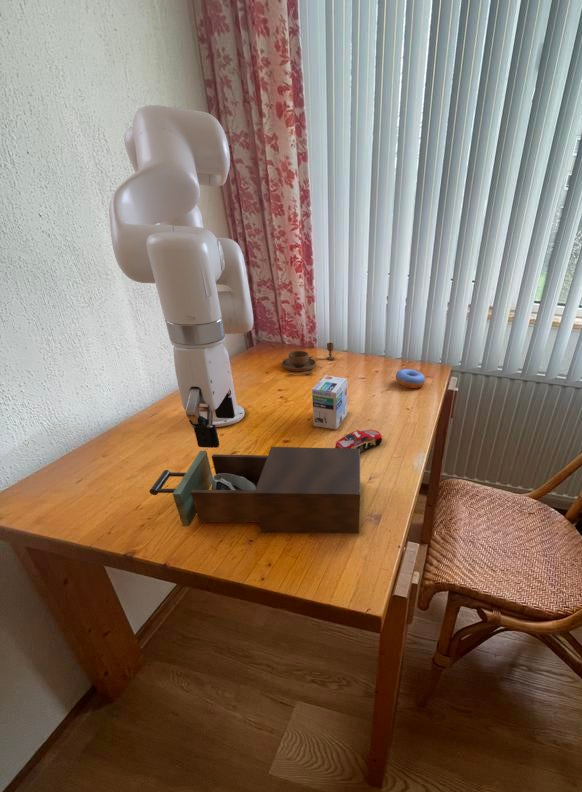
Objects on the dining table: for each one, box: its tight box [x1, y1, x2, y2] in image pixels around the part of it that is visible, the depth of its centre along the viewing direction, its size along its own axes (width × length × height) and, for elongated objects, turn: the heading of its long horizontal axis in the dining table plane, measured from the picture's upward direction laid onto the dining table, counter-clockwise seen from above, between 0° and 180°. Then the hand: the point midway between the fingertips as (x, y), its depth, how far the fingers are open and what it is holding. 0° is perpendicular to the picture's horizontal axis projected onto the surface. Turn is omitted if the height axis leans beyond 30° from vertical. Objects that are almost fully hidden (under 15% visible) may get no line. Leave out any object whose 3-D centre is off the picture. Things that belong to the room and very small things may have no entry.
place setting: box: [281, 342, 335, 376], centre depth 138 cm, size 18×20×6 cm
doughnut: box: [395, 368, 426, 389], centre depth 130 cm, size 10×10×5 cm
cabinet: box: [254, 446, 361, 534], centre depth 74 cm, size 18×15×9 cm
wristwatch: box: [211, 473, 256, 491], centre depth 73 cm, size 9×6×5 cm
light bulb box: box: [311, 375, 348, 430], centre depth 104 cm, size 11×7×11 cm, turn 168°
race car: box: [334, 429, 383, 453], centre depth 95 cm, size 13×5×4 cm, turn 133°
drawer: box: [149, 450, 268, 527], centre depth 72 cm, size 23×14×7 cm, turn 93°
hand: (218, 431), depth 66 cm, fingers open, 9 cm apart
